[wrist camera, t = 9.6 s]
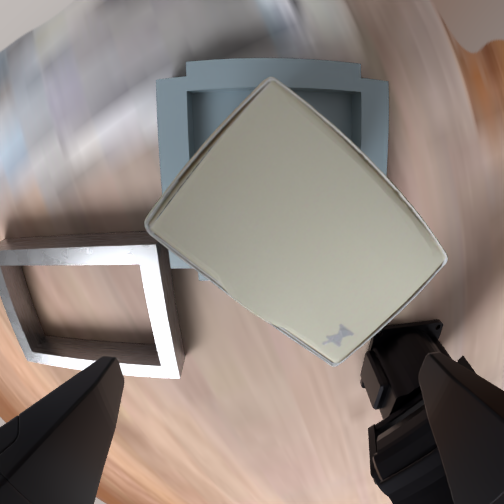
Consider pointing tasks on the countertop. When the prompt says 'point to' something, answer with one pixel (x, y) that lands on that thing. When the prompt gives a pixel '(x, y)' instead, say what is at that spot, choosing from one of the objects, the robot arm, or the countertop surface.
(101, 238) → the metal collar
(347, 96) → the slate tray
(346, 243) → the skincare box
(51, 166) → the countertop surface
